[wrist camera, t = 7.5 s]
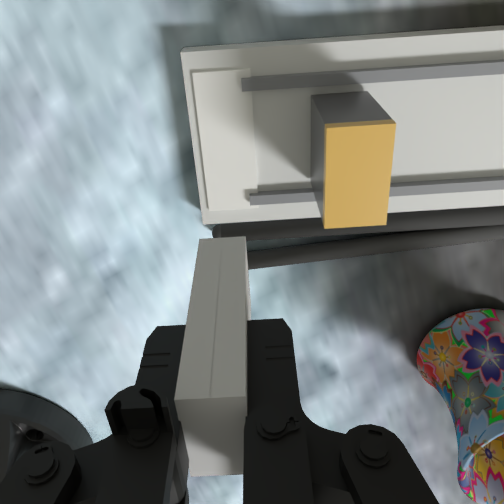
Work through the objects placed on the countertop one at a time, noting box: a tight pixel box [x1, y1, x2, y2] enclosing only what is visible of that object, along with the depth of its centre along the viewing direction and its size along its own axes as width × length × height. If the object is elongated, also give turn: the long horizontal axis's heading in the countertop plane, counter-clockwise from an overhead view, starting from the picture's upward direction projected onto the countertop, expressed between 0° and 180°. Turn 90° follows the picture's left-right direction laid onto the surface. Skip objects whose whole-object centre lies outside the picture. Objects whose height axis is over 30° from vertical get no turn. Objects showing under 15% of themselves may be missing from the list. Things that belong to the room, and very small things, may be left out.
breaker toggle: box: [310, 91, 396, 229], centre depth 24 cm, size 3×5×6 cm, turn 3°
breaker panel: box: [180, 25, 504, 224], centre depth 27 cm, size 26×10×2 cm, turn 94°
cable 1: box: [212, 206, 504, 241], centre depth 31 cm, size 25×1×1 cm, turn 93°
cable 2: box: [247, 225, 504, 270], centre depth 32 cm, size 23×1×1 cm, turn 97°
